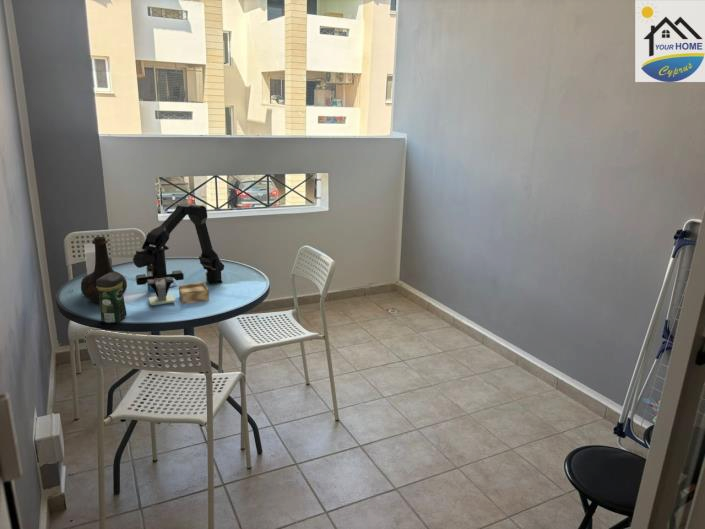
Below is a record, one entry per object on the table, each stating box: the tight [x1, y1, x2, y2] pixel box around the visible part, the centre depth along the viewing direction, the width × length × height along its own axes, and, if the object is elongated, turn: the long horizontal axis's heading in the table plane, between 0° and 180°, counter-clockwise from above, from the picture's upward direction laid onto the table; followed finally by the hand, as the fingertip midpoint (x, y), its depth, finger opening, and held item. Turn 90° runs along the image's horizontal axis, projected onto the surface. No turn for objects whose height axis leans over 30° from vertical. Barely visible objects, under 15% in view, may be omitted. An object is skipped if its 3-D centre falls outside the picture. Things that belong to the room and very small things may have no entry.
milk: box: [83, 243, 95, 275], centre depth 231 cm, size 6×6×22 cm
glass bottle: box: [80, 236, 128, 304], centre depth 220 cm, size 18×18×28 cm
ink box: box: [145, 266, 165, 293], centre depth 237 cm, size 9×5×12 cm, turn 168°
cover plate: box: [148, 284, 176, 306], centre depth 221 cm, size 10×8×6 cm
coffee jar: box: [96, 272, 128, 324], centre depth 202 cm, size 10×8×19 cm
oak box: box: [178, 282, 210, 305], centre depth 227 cm, size 11×10×5 cm
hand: (161, 296), depth 221 cm, fingers open, 3 cm apart
